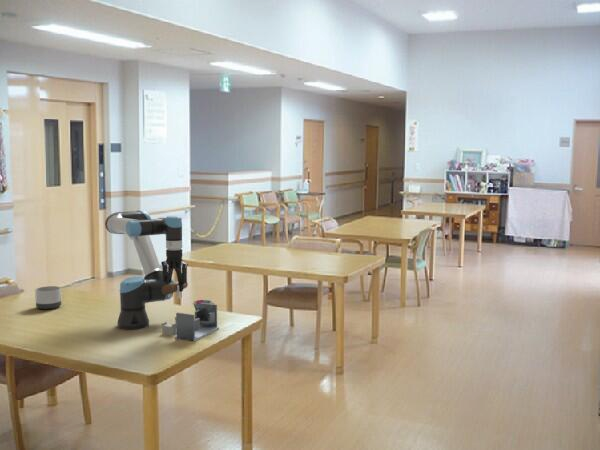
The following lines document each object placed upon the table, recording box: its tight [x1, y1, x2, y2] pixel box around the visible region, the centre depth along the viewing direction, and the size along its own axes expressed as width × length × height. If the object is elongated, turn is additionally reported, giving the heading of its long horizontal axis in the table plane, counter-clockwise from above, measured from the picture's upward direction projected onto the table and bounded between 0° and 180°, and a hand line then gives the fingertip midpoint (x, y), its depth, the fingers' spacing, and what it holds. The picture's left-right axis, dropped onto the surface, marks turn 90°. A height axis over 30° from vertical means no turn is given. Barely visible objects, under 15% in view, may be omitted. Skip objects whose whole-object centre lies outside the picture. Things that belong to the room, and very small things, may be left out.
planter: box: [34, 285, 62, 310], centre depth 342 cm, size 13×13×10 cm
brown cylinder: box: [162, 280, 189, 295], centre depth 298 cm, size 15×4×4 cm, turn 157°
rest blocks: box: [160, 316, 177, 336], centre depth 300 cm, size 6×14×5 cm, turn 157°
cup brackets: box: [175, 303, 218, 342], centre depth 295 cm, size 9×21×12 cm, turn 157°
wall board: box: [174, 325, 220, 342], centre depth 295 cm, size 11×21×1 cm, turn 157°
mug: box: [192, 299, 215, 312], centre depth 314 cm, size 12×9×11 cm
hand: (175, 297), depth 298 cm, fingers closed on brown cylinder, 4 cm apart
